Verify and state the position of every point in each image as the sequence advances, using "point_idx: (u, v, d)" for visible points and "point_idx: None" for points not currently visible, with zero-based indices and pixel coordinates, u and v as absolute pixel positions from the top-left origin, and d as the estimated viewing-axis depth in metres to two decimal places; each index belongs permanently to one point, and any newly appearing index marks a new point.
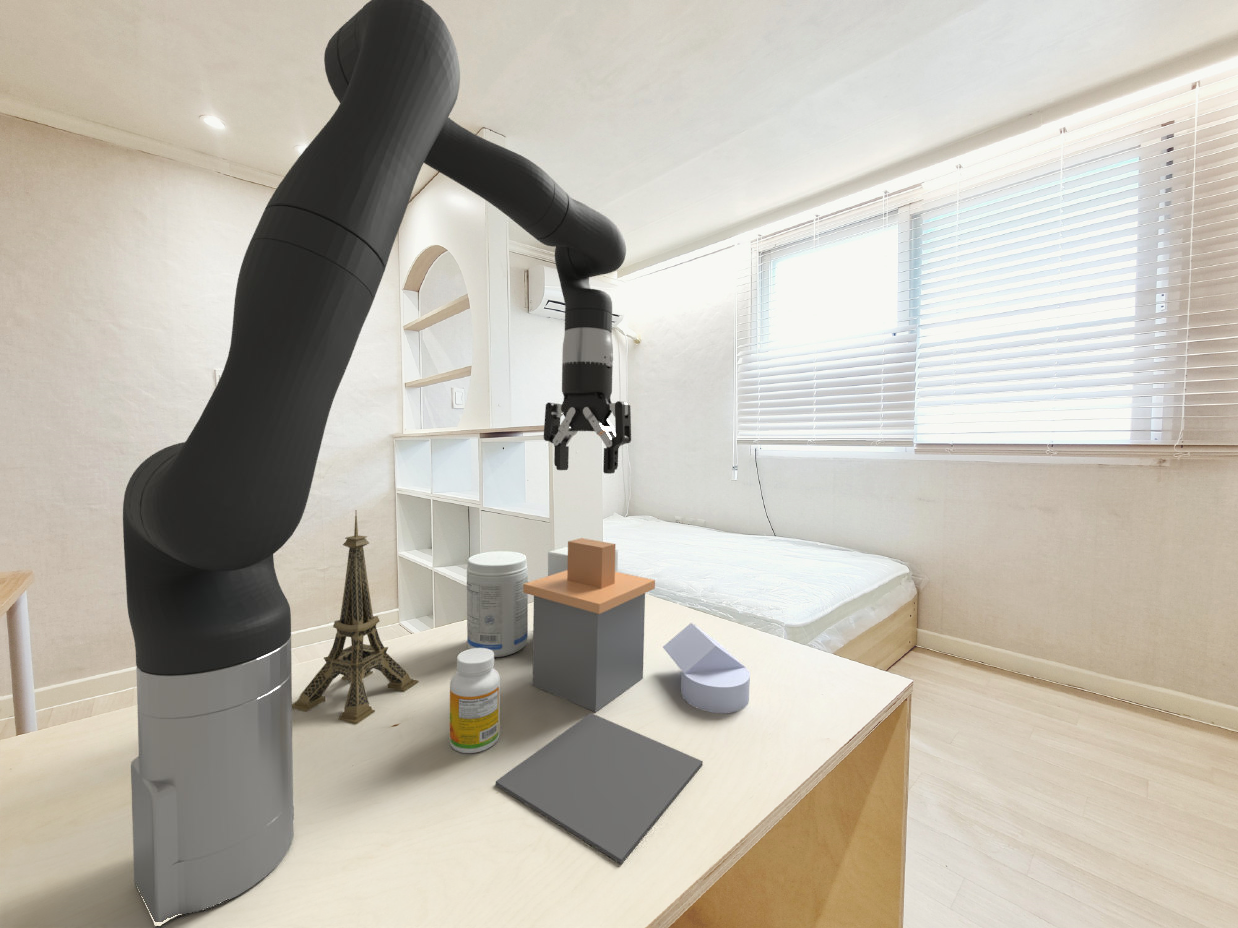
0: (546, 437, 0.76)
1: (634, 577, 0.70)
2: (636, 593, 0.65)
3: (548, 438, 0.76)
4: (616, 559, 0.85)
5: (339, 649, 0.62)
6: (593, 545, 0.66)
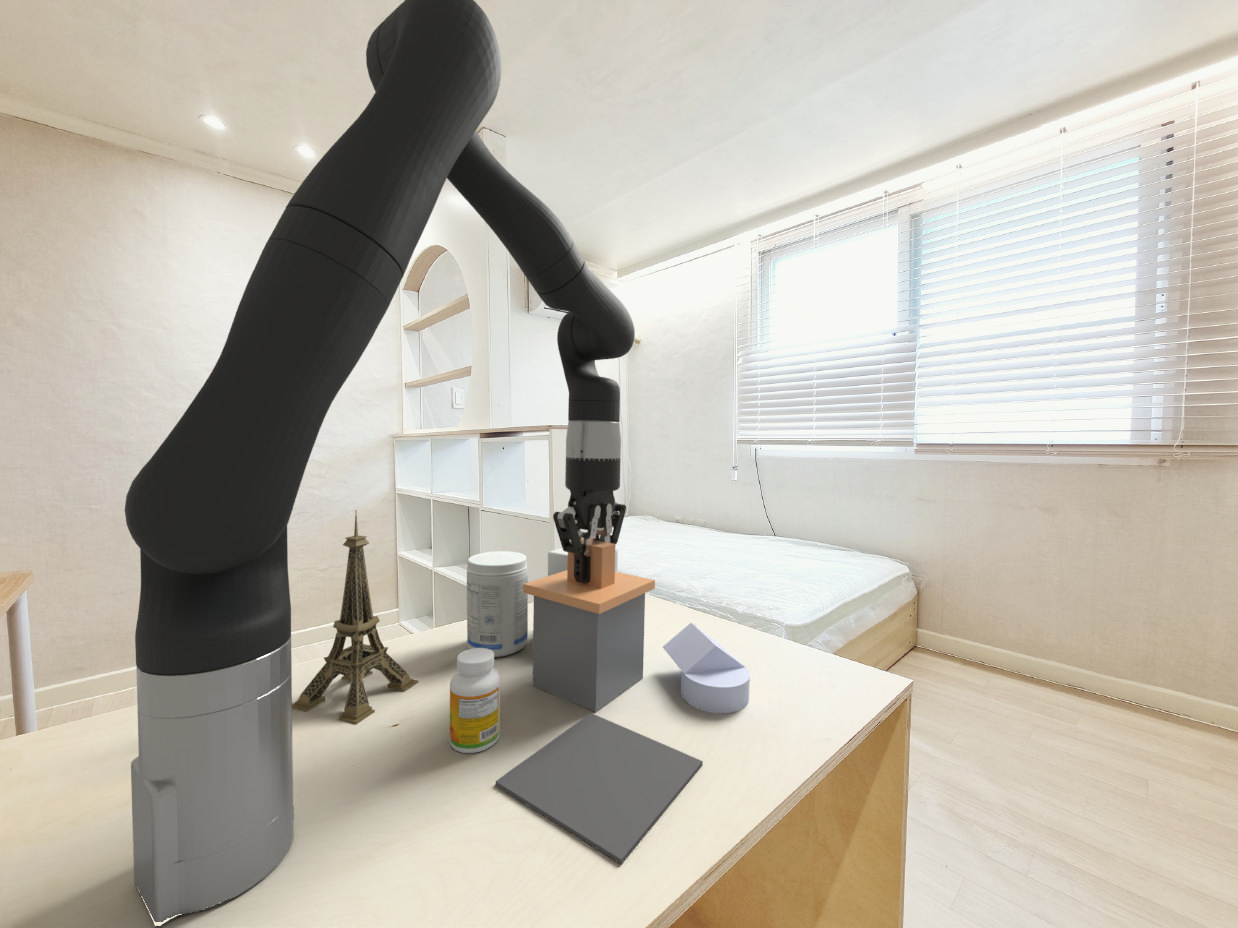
0: (580, 549, 0.64)
1: (634, 577, 0.70)
2: (636, 593, 0.65)
3: (581, 549, 0.64)
4: (616, 559, 0.85)
5: (339, 649, 0.62)
6: (593, 545, 0.66)
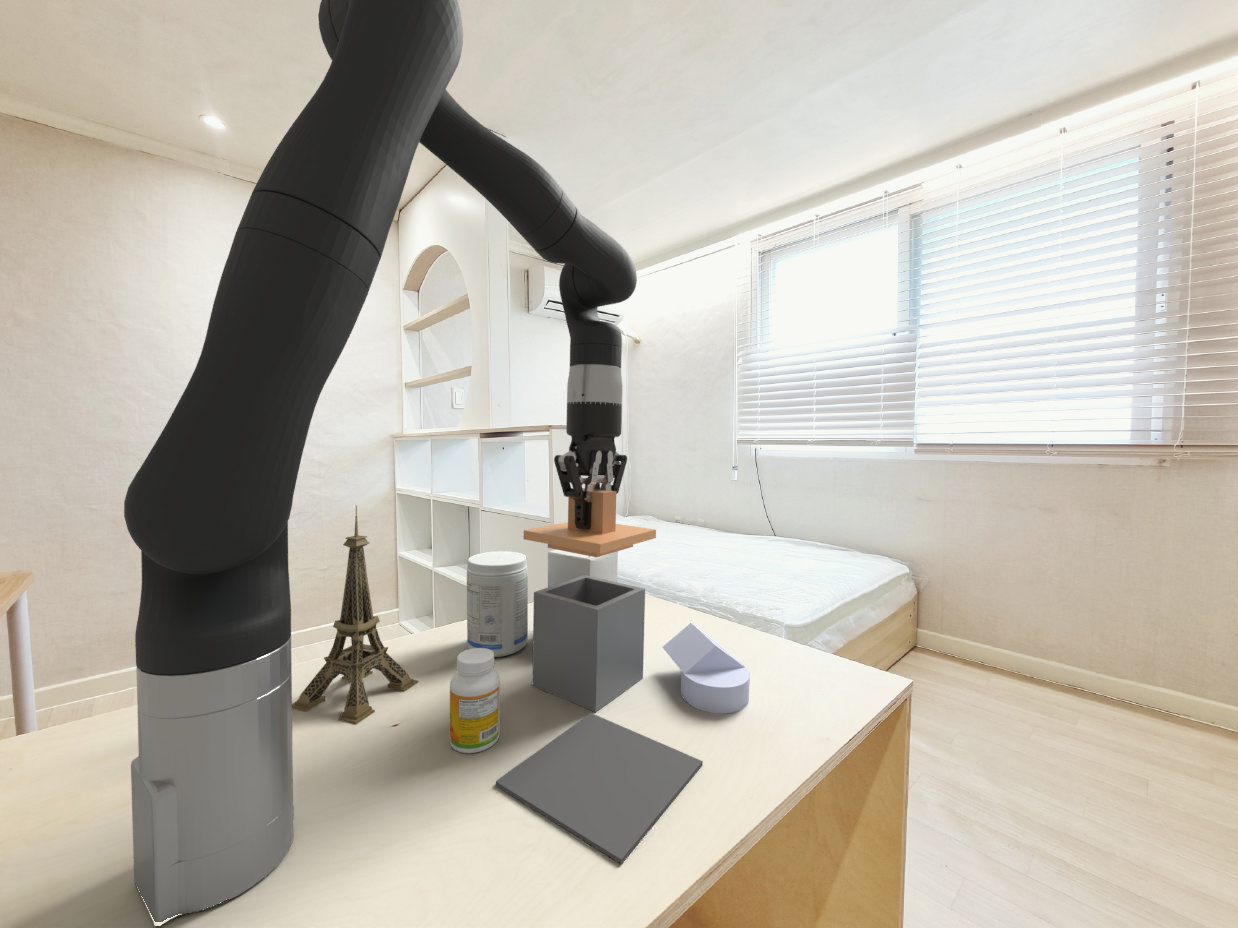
0: (581, 493, 0.63)
1: (635, 527, 0.70)
2: (637, 539, 0.65)
3: (582, 493, 0.64)
4: (616, 559, 0.85)
5: (339, 649, 0.62)
6: (594, 491, 0.65)
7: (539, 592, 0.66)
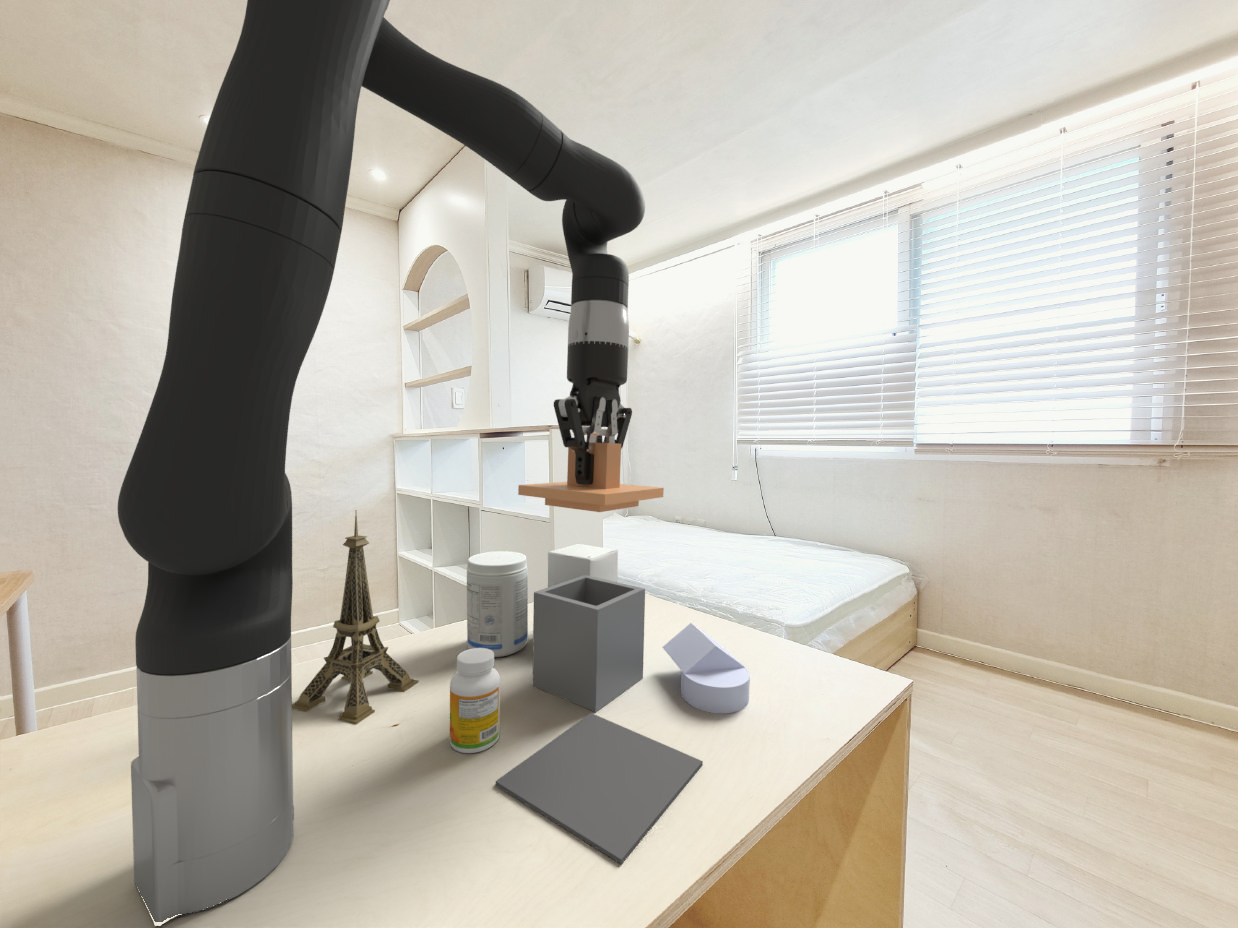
0: (583, 443, 0.57)
1: (640, 486, 0.64)
2: (643, 496, 0.59)
3: (584, 443, 0.57)
4: (616, 559, 0.85)
5: (339, 649, 0.62)
6: None
7: (539, 592, 0.66)
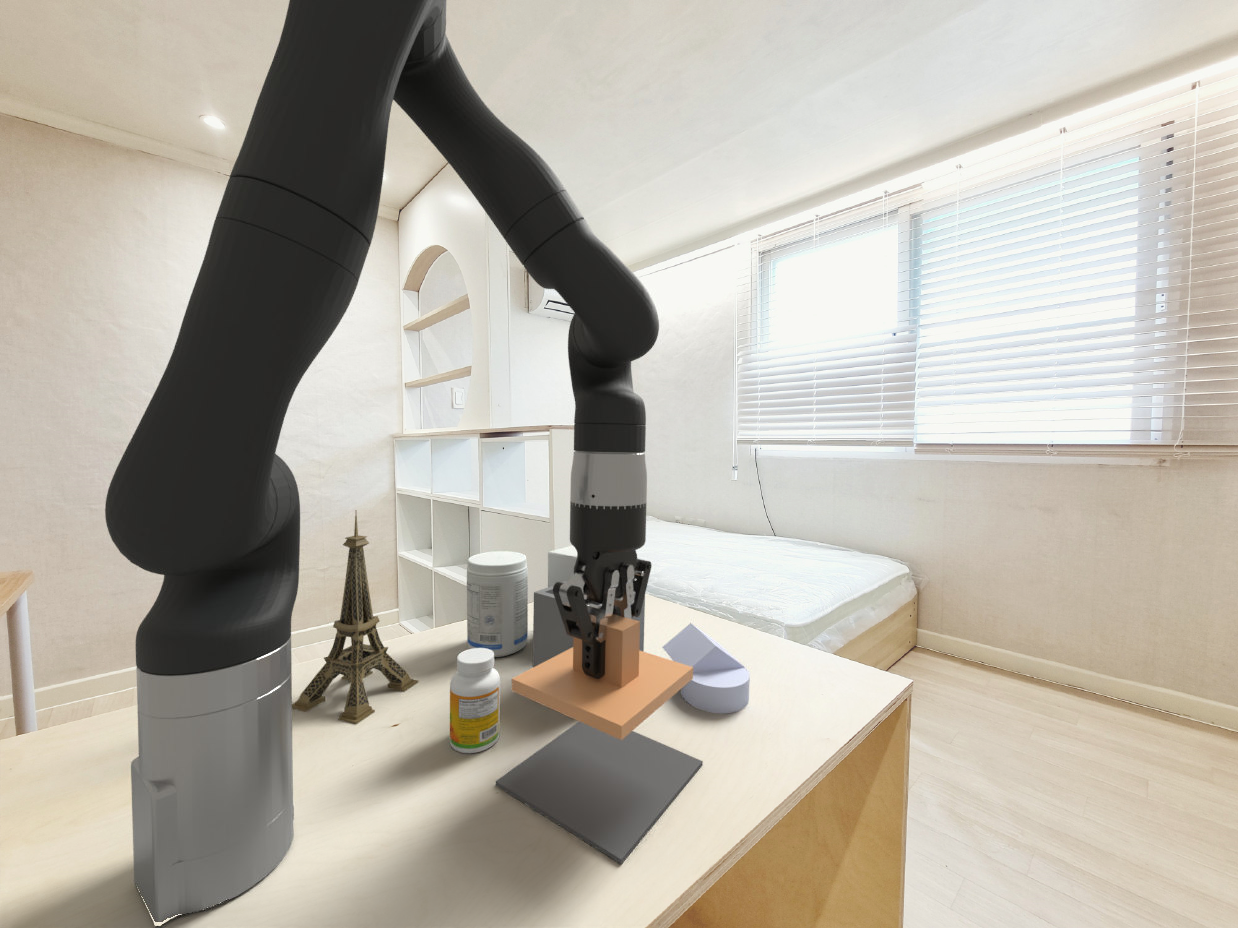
0: (591, 635, 0.45)
1: (664, 661, 0.52)
2: (669, 693, 0.47)
3: (593, 633, 0.45)
4: None
5: (339, 649, 0.62)
6: (609, 625, 0.47)
7: (539, 592, 0.66)
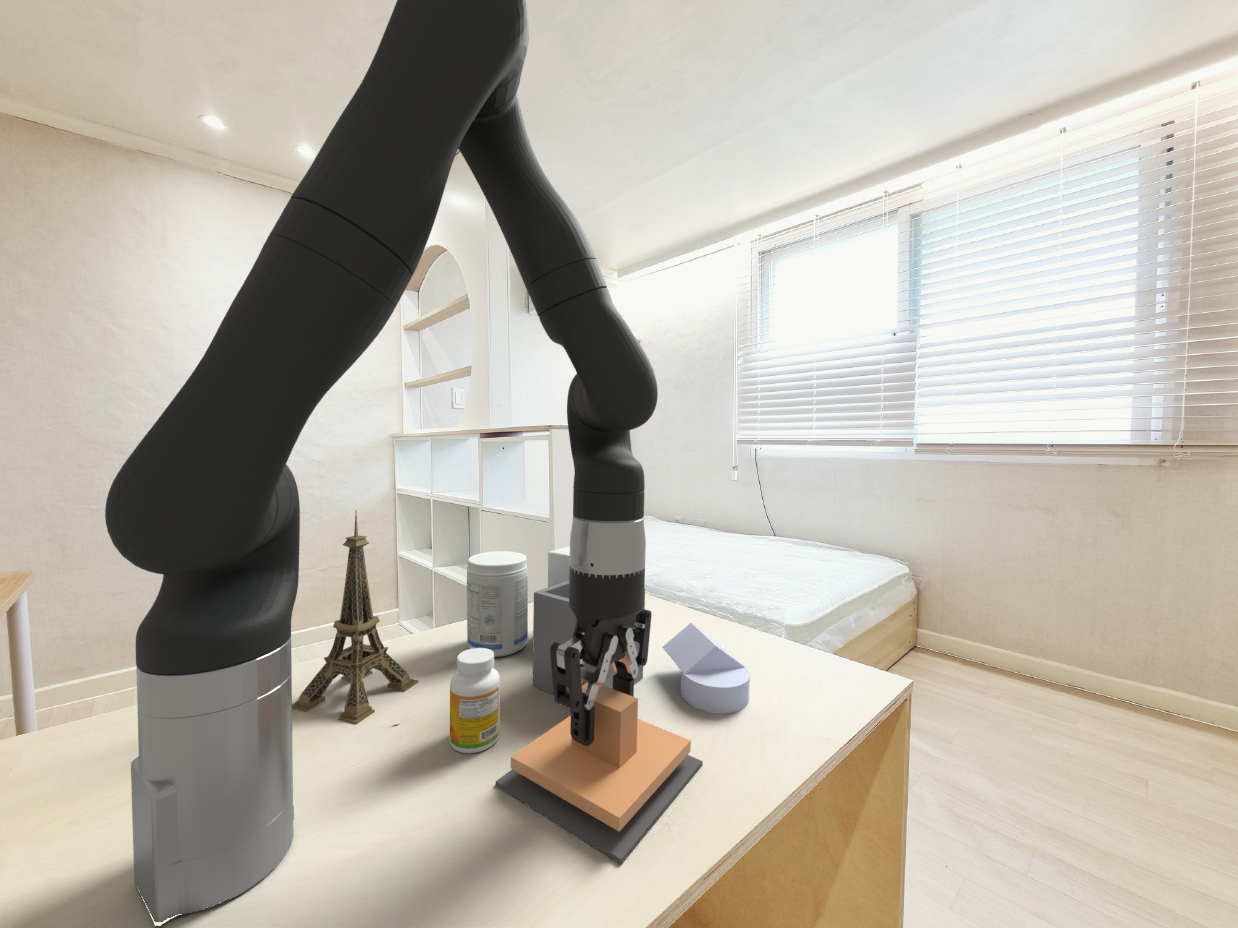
0: (579, 704, 0.44)
1: (662, 733, 0.52)
2: (667, 772, 0.47)
3: (581, 704, 0.44)
4: None
5: (339, 649, 0.62)
6: (608, 704, 0.47)
7: (539, 592, 0.66)
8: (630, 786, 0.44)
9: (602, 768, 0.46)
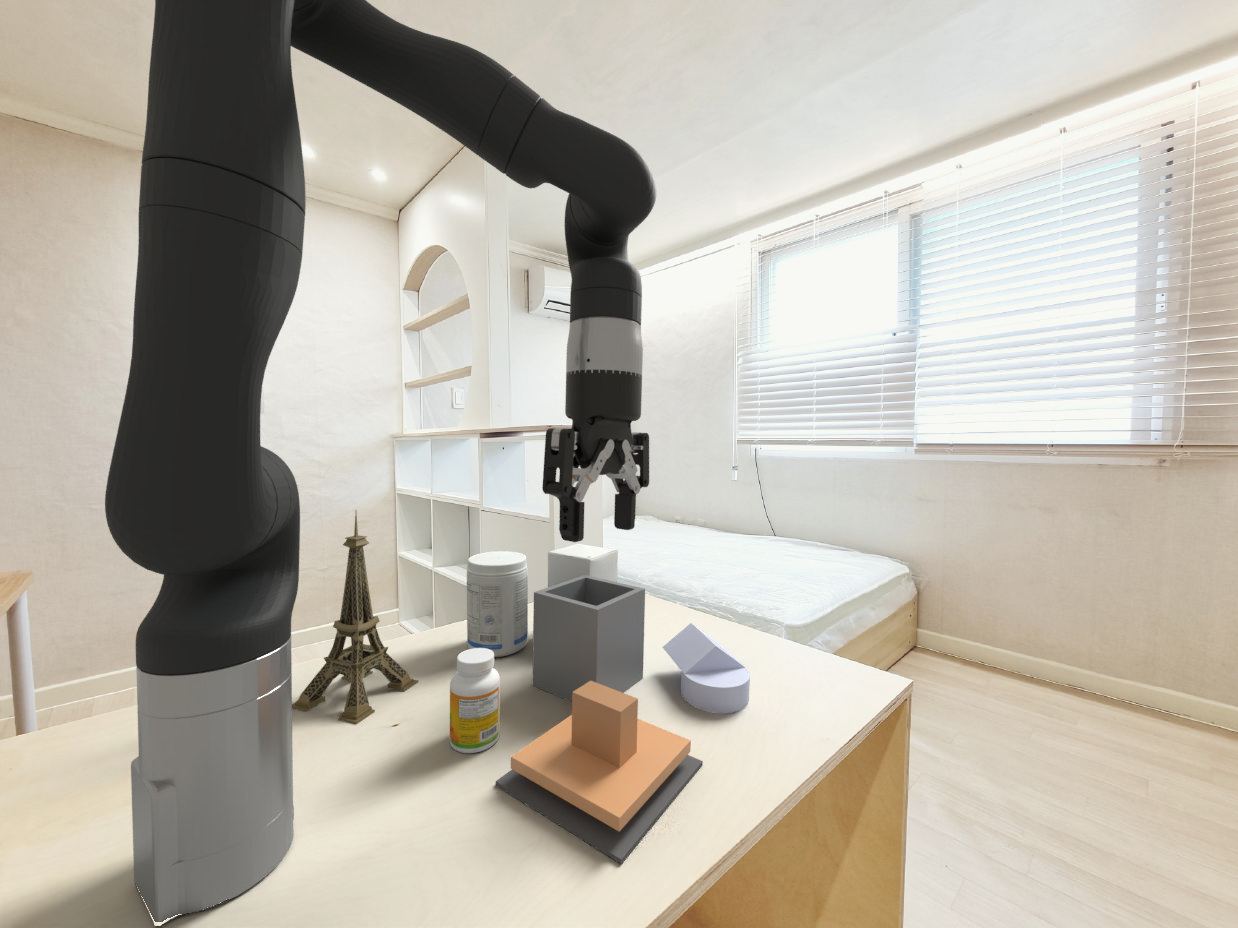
0: (568, 490, 0.43)
1: (662, 733, 0.52)
2: (667, 772, 0.47)
3: (569, 491, 0.43)
4: (616, 559, 0.85)
5: (339, 649, 0.62)
6: (608, 704, 0.47)
7: (539, 592, 0.66)
8: (630, 786, 0.44)
9: (602, 768, 0.46)
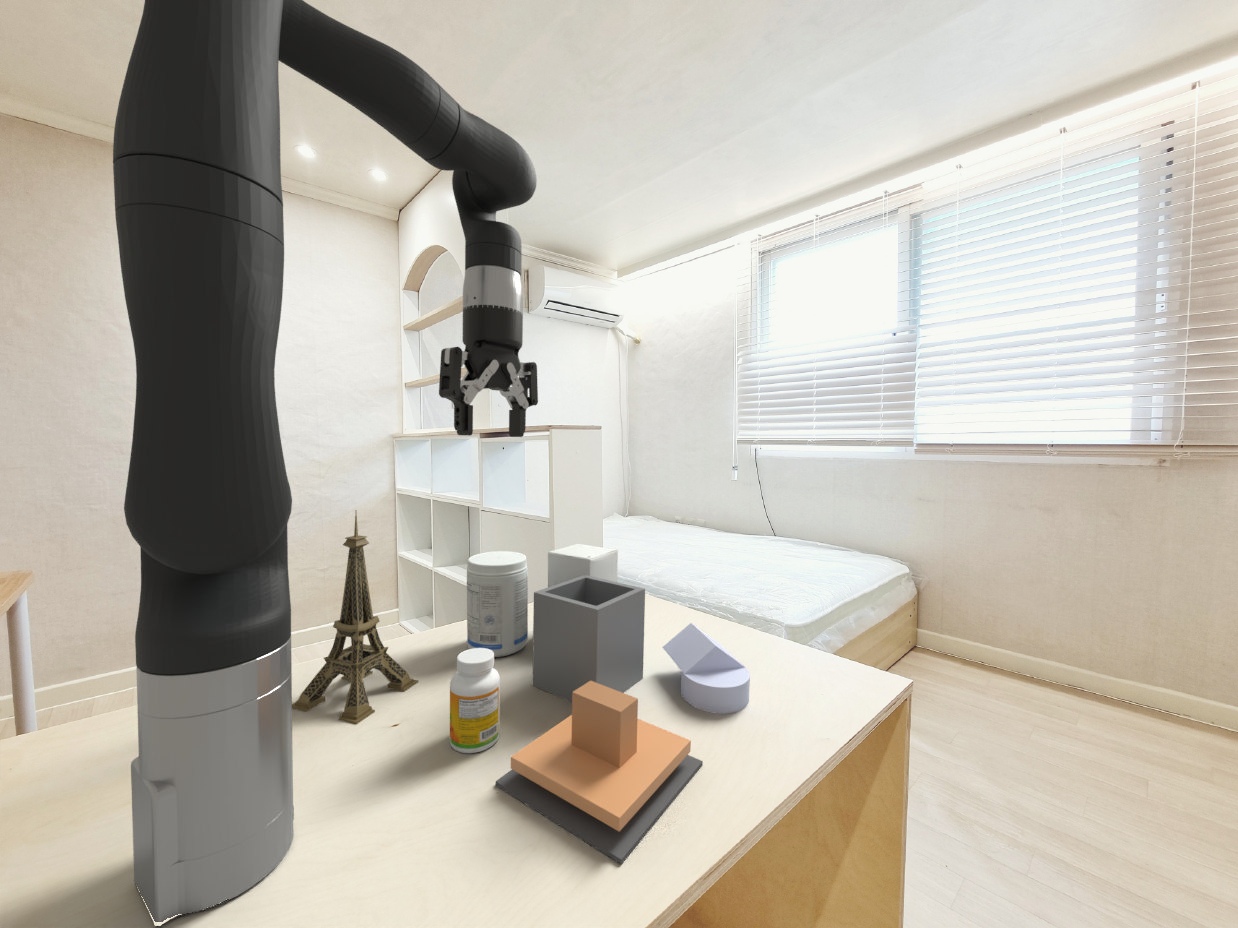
0: (456, 392, 0.57)
1: (662, 733, 0.52)
2: (667, 772, 0.47)
3: (458, 394, 0.58)
4: (616, 559, 0.85)
5: (339, 649, 0.62)
6: (608, 704, 0.47)
7: (539, 592, 0.66)
8: (630, 786, 0.44)
9: (602, 768, 0.46)
